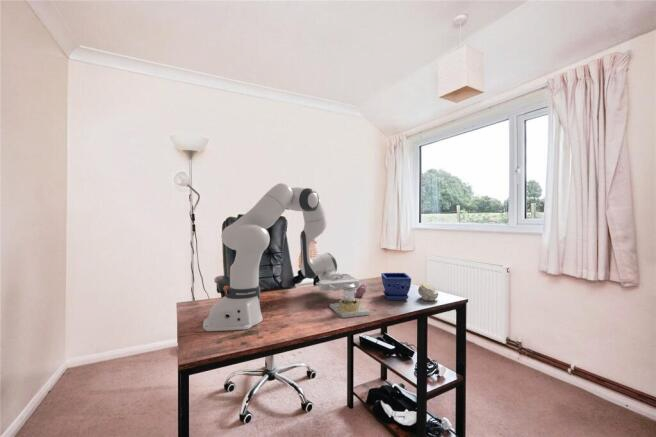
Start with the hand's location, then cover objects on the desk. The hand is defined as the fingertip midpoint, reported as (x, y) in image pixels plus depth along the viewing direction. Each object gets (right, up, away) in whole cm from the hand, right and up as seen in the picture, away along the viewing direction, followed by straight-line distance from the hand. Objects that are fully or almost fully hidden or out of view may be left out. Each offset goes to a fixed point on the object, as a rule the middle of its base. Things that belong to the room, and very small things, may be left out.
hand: (344, 288), depth 133 cm
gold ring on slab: (+2, -9, -5) cm, 10 cm away
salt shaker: (+2, -7, -5) cm, 9 cm away
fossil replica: (+43, -9, +13) cm, 46 cm away
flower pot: (+27, -9, +15) cm, 33 cm away
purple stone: (+10, -9, +20) cm, 24 cm away
